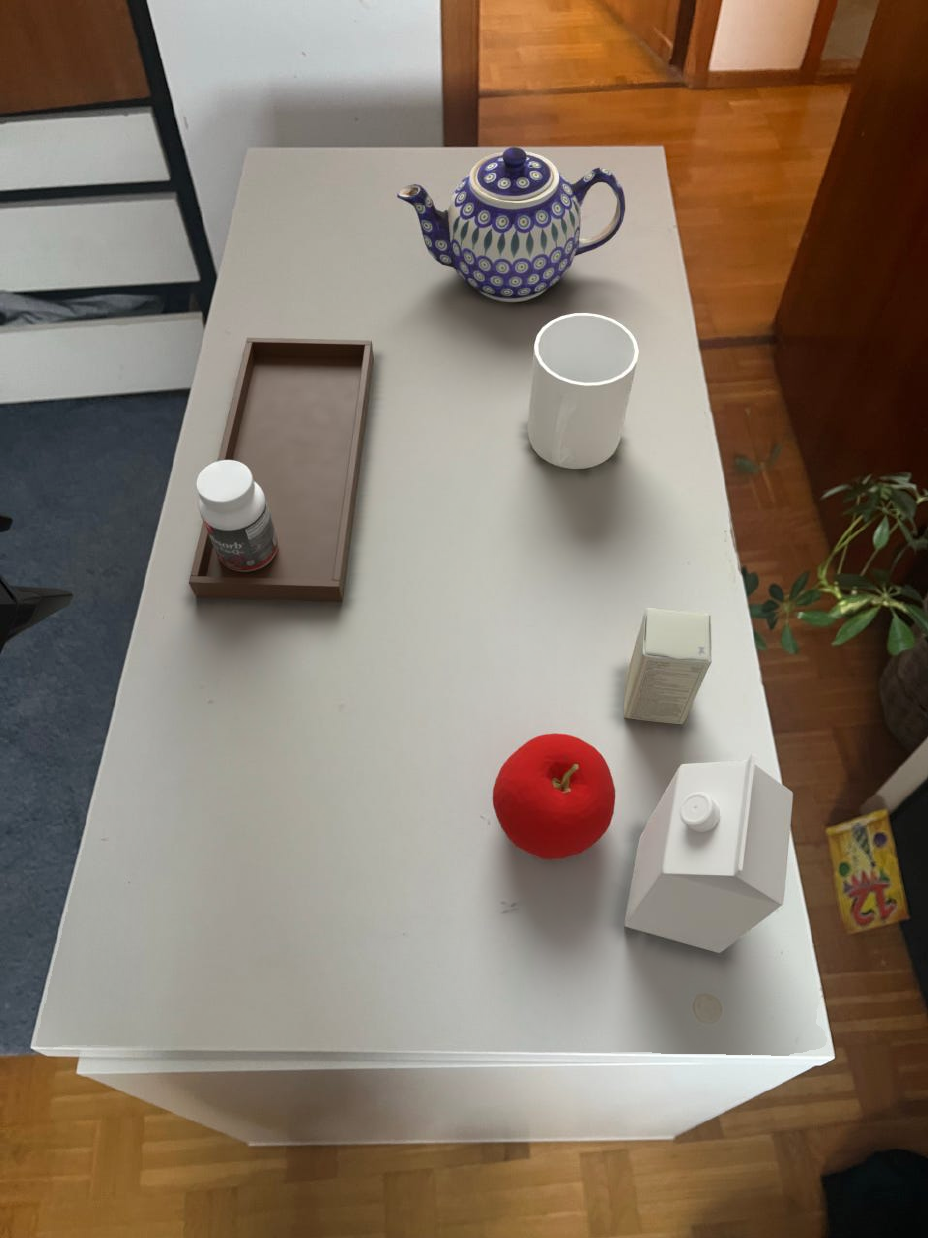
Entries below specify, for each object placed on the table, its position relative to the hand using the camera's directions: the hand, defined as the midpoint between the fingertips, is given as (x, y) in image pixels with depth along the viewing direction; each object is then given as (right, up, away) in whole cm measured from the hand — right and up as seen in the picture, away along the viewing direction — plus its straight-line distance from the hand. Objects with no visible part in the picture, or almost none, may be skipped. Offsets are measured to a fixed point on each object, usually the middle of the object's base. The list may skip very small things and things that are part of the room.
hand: (39, 559), depth 66 cm
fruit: (+38, -20, +4) cm, 43 cm away
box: (+48, -11, +9) cm, 50 cm away
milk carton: (+48, -25, +1) cm, 54 cm away
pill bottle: (+12, +2, +17) cm, 20 cm away
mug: (+43, +13, +24) cm, 51 cm away
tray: (+15, +11, +22) cm, 29 cm away
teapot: (+37, +36, +38) cm, 64 cm away
